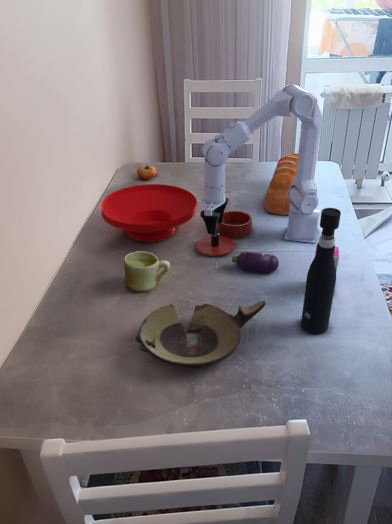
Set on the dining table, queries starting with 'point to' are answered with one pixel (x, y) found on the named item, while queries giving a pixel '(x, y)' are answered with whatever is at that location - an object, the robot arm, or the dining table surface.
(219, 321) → the olive round shallow dish
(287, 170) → the bread
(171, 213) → the bowl
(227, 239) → the pot lid
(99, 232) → the dining table surface
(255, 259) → the eggplant
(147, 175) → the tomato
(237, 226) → the pot
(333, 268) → the black bottle
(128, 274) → the mug
